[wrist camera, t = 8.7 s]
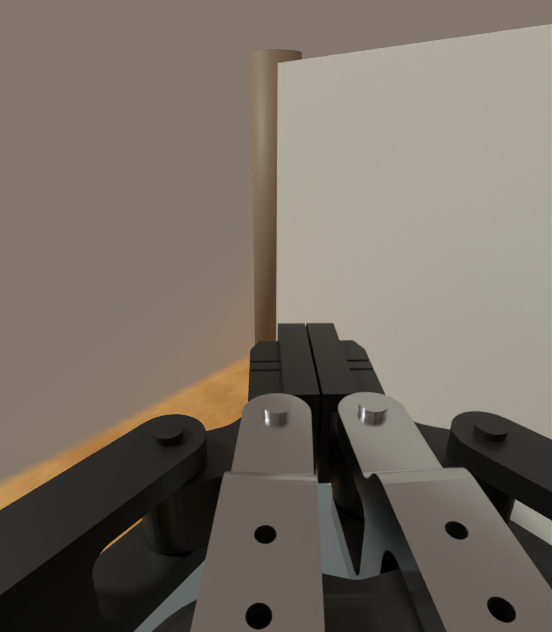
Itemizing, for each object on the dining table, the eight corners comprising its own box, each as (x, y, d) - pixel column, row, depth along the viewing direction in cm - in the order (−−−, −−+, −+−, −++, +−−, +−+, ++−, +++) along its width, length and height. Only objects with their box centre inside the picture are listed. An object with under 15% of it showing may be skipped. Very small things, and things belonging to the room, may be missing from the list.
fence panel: (586, 603, 13) (847, -31, 7) (556, 644, 12) (833, -57, 6) (278, 384, 23) (280, 57, 17) (248, 396, 22) (240, 53, 16)
